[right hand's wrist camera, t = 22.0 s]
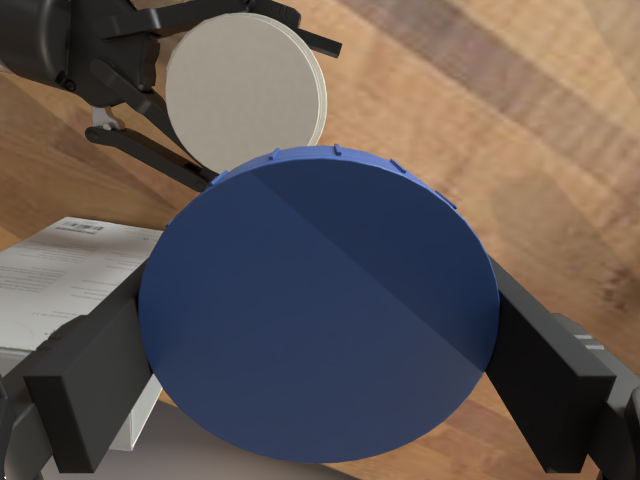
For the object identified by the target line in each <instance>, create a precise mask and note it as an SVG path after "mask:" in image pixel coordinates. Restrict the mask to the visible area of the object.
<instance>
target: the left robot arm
mask: <svg viewBox="0 0 640 480" xmlns="http://www.w3.org/2000/svg"><path fill="white" fill-rule="evenodd" d="M226 13H227V14H232V13H254V14H259V15H263V16H267V17H269V18H272V19H274V20H277V21H278V22H280V23H282V24H284V25H285V26H287V27H288V28H290V29H291V30H292V31H293V32H295V33H296V34H297V35H298V36H299V37H300V38H301V39H302V40H303V41H304V42H305V43H306V45H307V46H308V47H309V49H311V50H314V51H317V52H320V53H323V54H325V55H328V56H331V57H334V58H338V56H339V54H340V50H341V47H342V43H339V42H336V41H333V40H330V39H327V38H325V37H322V36H319V35H316V34H313V33H311V32H308V31H305V30H302V29H299V25H300V22H301V14H300V13H299V12H298V11H297V10H295V9H294V8H291V7H289V6H286V5H283V4H280V3H277V2H275V1H272V0H194V1H189V2H185V3H180V4H176V5H171V6H167V7H162V8H157V9H152V8H149V9H142V10H137V9H136V8H135V6H134V5H133V4H132V3H131V1H130V0H0V71H2V72H6V73H11V74H16V75H18V76H20V77H23V78H26V79H29V80H32V81H36V82H39V83H42V84H45V85H48V86H52V87H55V88H58V89H61V90H65V91H68V92H71V93H74V94H76V95H78V96H80V97H81V98H83V99H84V100H85V101H86V102H87V103H88V104H90V105H91V106H92V127H89V128H87V129H86V131H85V136H86V138H87V139H88V140H89V141H90V142H92V143H97V144H102V145H107V146H112V147H116V148H118V149H120V150H122V151H123V152H125V153H127V154H129V155H131V156H133V157H135V158H136V159H138V160H140V161H142V162H144V163H146V164H147V165H149V166H151V167H153V168H155V169H157V170H158V171H160V172H162V173H164V174H166V175H168V176H169V177H171V178H173V179H175V180H177V181H179V182H180V183H182V184H184V185H186V186H188V187H190V188H191V189H193V190H195V191H197V192H203V191H205V190H206V189H207V188H208V187H209V185H208V184H209V183H210V182H211V181H213V180H214V179H215V178H216V177H217V176H219V175H220V174H218V173H216V172H214V171H212V170H210V169H209V168H207V167H206V166H204V165H203V164H201V163H200V162H199V161H198V160H196V159H195V158H194V157H193V156H192V155H191V154H190V153H189V152H188V151H187V149H186V148H185V147H184V146H183V144H182V143H181V141H180V140H179V138H178V136H177V135H176V133H175V131H174V129H173V126H172V124H171V121H170V118H169V115H168V111H167V106H166V103H165V101H164V99H163V98H162V97H161V96H160V95H159V94H158V93H157V92H156V91H155V90H154V89H152V88H151V87H152V86H155V81H156V71H155V63H156V60H157V58H158V55H159V50H160V43H158V42H157V39H159V38H164V37H169V36H172V35H174V34H176V33H180V32H185V31H190V30H192V29H193V28H194V27H196V26H197V25H199V24H200V23H201V22H203V21H204V20H207V19H211V18H214V17H217V16H220V15H223V14H226ZM124 102H126V103H127V104H128V105H129V106H130V107H132V108H133V109H134V110H135V111H137V112H138V113H141V114H142V115H144V116H145V117H146V118H147V119H148V120H150V121H151V122H152V123H153V124H154V125H155V126H156V127H158V128H159V129H160V130H161V131H162V132H163V133H164V134H165V135H167V136H168V137H169V138H170V139H171V140H172V141H173V142H174V143H176V144H177V145H178V146H179V147H180V148H181V149H182V150H183V151H185V152H186V153H187V154H188V155H189V156H190V157H191V158H192V159H194V160H195V161H196V162H197V163H198V164H199V165H200V166H201V167H203V168H201V167H199V166H198V165H196V164H194V163H192V162H190V161H189V160H187V159H185V158H183V157H181V156H180V155H178V154H176V153H174V152H173V151H171V150H169V149H167V148H165V147H164V146H162V145H160V144H158V143H156V142H155V141H153V140H151V139H149V138H148V137H146V136H144V135H142V134H140V133H138V132H136V131H134V130H131V129H128V128H125V123H124V122H123V121H122V120H121V119H120V118H117V117H116V116H114V115H113V113H112V111H111V107H113V106H116V105H119V104H121V103H124Z"/></svg>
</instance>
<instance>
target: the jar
mask: <svg viewBox="0 0 640 480" xmlns="http://www.w3.org/2000/svg"><path fill="white" fill-rule="evenodd" d="M165 71H167V77H166V84H165V98H166V106H167V111H168V115H169V118H170V121H171V124H172V126H173V129H174V131H175V133H176V135H177V136H178V138H179V140H180V141H181V143H182V144H183V146H184V147H185V148H186V149H187V151H188V152H189V153H190V154H191V155H192V156H193V157H194V158H195V159H196V160H198V161H199V162H200V163H201V164H203V165H204V166H206V167H207V168H209V169H210V170H212V171H214V172H216V173H218V174H221V173H223V172H224V171H226V170H227V171H228V172H230V171H231V170H233V169H234V168H236V167H238V166H240V165H242V164H244V163H246V162H248V161H250V160H252V159H254V158H256V157H259V156H262V155H265V154H268V153H271V152H273V151H274V150H275V149H276V148H280V150H284V149H289V148H295V147H303V146H315V145H316V144H317V142H318V140H319V138H320V136H321V133H322V130H323V127H324V124H325V119H326V112H327V92H326V86H325V81H324V78H323V74H322V71H321V69H320V66H319V64H318V62H317V60H316V58H315V56H314V55H313V53H312V51H311V50H310V49H309V47H308V46H307V45H306V43H305V42H304V41H303V40H302V39H301V38H300V37H299V36H298V35H297V34H296V33H295V32H293V31H292V30H291V29H290V28H288V27H287V26H285V25H284V24H282V23H280V22H278V21H277V20H274V19H272V18H269V17H267V16H263V15H259V14H254V13H232V14H227V13H226V14H223V15H220V16H217V17H214V18H211V19H207V20H204V21H203V22H201V23H200V24H199V25H197V26H196V27H194V28H193V29H192V30H190V31H189V32H187V33H186V34H185V36H184V37H183V38H182V39H181V41H180V42H179V43H178V45H177V46H176V47H175V49H173V52H172V54H171V57H170V60H169V62H168V65H167V67H166V70H165Z"/></svg>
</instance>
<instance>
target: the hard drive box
mask: <svg viewBox="0 0 640 480" xmlns="http://www.w3.org/2000/svg"><path fill="white" fill-rule="evenodd" d="M163 232H164V231H160V230H153V229H147V228H140V227H133V226H127V225H121V224H114V223H109V222H102V221H95V220H87V219H80V218H73V217H65V218H63V219H61V220H59V221H57V222H56V223H54V224H52V225H50V226H48V227H46V228H44V229H42V230H41V231H39V232H37V233H35V234H33V235H31V236H29V237H27V238H26V239H24V240H22V241H20V242H18V243H16V244H14V245H12V246H11V247H9V248H7V249H5V250H3V251H1V252H0V374H1V376H2V378H3V377H4V376H5V375H6V374H7V373H9V372H10V371H11V370H12V369H13V368H14V367H15V366H16V365H18V364H19V363H20V362H21V361H22V360H23V359H24V358H25V357H27V356H28V355H29V354H30V353H31V352H32V351H36V348H37V347H38V346H39V345H40V344H41V343H42V342H43V341H45V340H48V337H49V336H50V335H51V334H52V333H54V332H55V331H56V330H57V329H58V328H59V327H60V326H61V325H63V324H65V323H67V322H68V321H70V320H72V319H74V318H76V317H77V316H79V315H88V314H89V313H90V312H91V311H92V310H93V309H94V308H95V307H96V306H97V305H98V304H99V303H101V302H102V301H103V300H104V299H105V298H106V297H107V296H108V295H109V294H110V293H111V292H112V291H113V290H114V289H115V288H116V287H117V286H119V285H120V284H121V283H122V282H123V281H124V280H125V279H126V278H127V277H128V276H129V275H130V274H131V273H132V272H133V271H134V270H135V269H137V268H138V267H139V266H140V265H141V264H142V263H143V262H144V261H145V260H146V259H147V258H148V257H149V256H150V254H151V252H152V250H153V248H154V247H155V245H156V243H157V241H158V240H159V238H160V236H161V234H162V233H163ZM161 390H162V386H161V384H160V383H159V381H158V380H157V378H156V376H155V375H154V374H153V375H152V377H151V379H150V380H149V382H148V384H147V385H146V387H145V389H144V390H143V392H142V394H141V395H140V397H139V399H138V400H137V402H136V404H135V405H134V407H133V409H132V410H131V412H130V414H129V415H128V417H127V419H126V420H125V422H124V424H123V425H122V427H121V429H120V430H119V432H118V434H117V435H116V437H115V439H114V440H113V442H112V444H111V445H110V447H109V449H115V450H127V451H132V450H133V447H134V445H135V442H136V440H137V438H138V436H139V434H140V432H141V430H142V428H143V426H144V424H145V422H146V420H147V419H148V417H149V415H150V412H151V410H152V409H153V407H154V404H155V402H156V400H157V398H158V396H159V394H160V392H161Z"/></svg>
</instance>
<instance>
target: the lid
mask: <svg viewBox="0 0 640 480" xmlns="http://www.w3.org/2000/svg"><path fill="white" fill-rule="evenodd" d="M208 185H209V187H208V188H207V189H206V190H205V191H203V192H202V193H201V194H200V195H199V196H197V197H196V198H195V199H194V200H193V201H192V202H191V203H189V204H188V205H187V206H186V207H185V208H184V209H183V210H182V211H181V212H180V213H179V214H178V215H177V216H176V217H175V218H174V219H173V220H172V221H170V222H169V223H168V224H167V225H166V229H165V231H164V232H163V233H162V234H161V236H160V238H159V240H158V241H157V243H156V245H155V247H154V248H153V250H152V252H151V254H150V256H149V259H148V261H147V264H146V267H145V270H144V272H143V275H142V280H141V285H140V290H139V296H138V321H139V326H140V331H141V336H142V340H143V345H144V349H145V354H146V357H147V360H148V362H149V364H150V366H151V369H152V371H153V373H154V375H155V376H156V378H157V380H158V381H159V383H160V384H161V386H162V388H163V389H164V391H165V392H166V393H167V394H168V395H169V397H170V398H171V399H172V400H173V402H174V403H175V404H176V405H177V406H178V407H179V408H180V409H181V410H182V411H183V412H184V413H185V414H186V415H187V416H188V417H189V418H191V419H192V420H193V421H194V422H196V423H197V424H198V425H200V426H201V427H202V428H204V429H205V430H207V431H208V432H210V433H212V434H213V435H215V436H217V437H218V438H220V439H222V440H223V441H226V442H228V443H230V444H232V445H234V446H236V447H238V448H241V449H244V450H246V451H249V452H252V453H255V454H258V455H262V456H266V457H270V458H274V459H278V460H285V461H292V462H300V463H338V462H346V461H353V460H359V459H363V458H368V457H372V456H376V455H379V454H382V453H385V452H388V451H391V450H394V449H397V448H399V447H401V446H403V445H406V444H408V443H410V442H412V441H414V440H416V439H417V438H419V437H421V436H423V435H424V434H426V433H428V432H429V431H431V430H432V429H434V428H435V427H436V426H438V425H439V424H441V423H442V422H443V421H445V420H446V419H447V418H448V417H449V416H450V415H451V414H452V413H453V412H454V411H456V410H457V409H458V408H459V407H460V406H461V404H462V403H463V402H464V401H465V400H466V399H467V397H468V396H469V395H470V394H471V393H472V391H473V390H474V388H475V387H476V385H477V384H478V382H479V381H480V379H481V378H482V376H483V374H484V372H485V370H486V368H487V365H488V363H489V361H490V359H491V356H492V353H493V350H494V347H495V343H496V340H497V334H498V327H499V294H498V288H497V281H496V277H495V274H494V271H493V268H492V265H491V262H490V259H489V257H488V255H487V253H486V251H485V249H484V247H483V246H482V244H481V242H480V240H479V238H478V237H477V235H476V234H475V233H474V231H473V230H472V229H471V227H470V226H469V225H468V223H467V222H466V221H465V219H464V218H463V217H462V216H461V215H460V214H459V213H458V212H457V211H456V209H457V207H456V206H455V205H454V204H452V203H451V202H450V201H449V200H447V199H446V198H445V197H444V196H443V195H441V194H440V193H439V192H438V191H435V192H434V191H433V190H432V189H431V188H429V187H428V186H427V185H426V184H425V183H423V182H422V181H421V180H419V179H418V178H417V177H415V176H414V175H413V174H411V173H410V172H408V171H407V170H405V169H404V168H403V167H402V166H400V165H399V164H398V163H397V162H396V161H395V160H393V159H391V160H390V161H388V160H386V159H383V158H381V157H378V156H375V155H373V154H370V153H367V152H363V151H358V150H354V149H349V148H345V147H339V144H335V145H334V147H333V146H303V147H295V148H289V149H284V150H280V148H276V149H275V150H274V151H273V152H271V153H268V154H265V155H262V156H259V157H256V158H254V159H252V160H250V161H248V162H246V163H244V164H242V165H240V166H238V167H236V168H234V169H233V170H231V171H230V172H228V171H227V170H226V171H224V172H223V173H221V174H220V175H219V176H218V177H216V178H215V179H214V180H213V181H211V182H210V183H209V184H208Z"/></svg>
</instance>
